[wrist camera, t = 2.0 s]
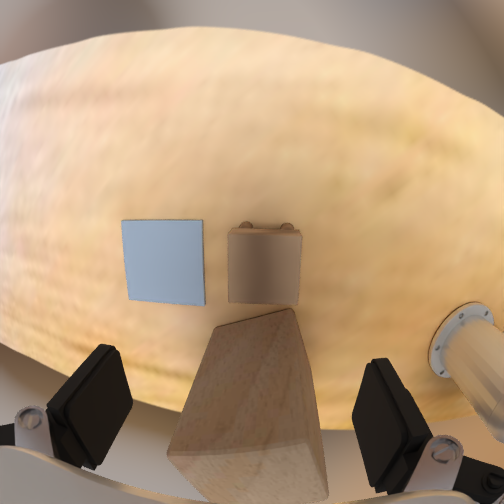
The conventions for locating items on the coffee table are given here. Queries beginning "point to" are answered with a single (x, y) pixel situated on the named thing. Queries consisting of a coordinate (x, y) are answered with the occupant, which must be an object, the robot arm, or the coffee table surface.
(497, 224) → the coffee table surface
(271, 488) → the wooden block
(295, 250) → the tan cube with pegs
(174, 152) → the coffee table surface
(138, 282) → the mat
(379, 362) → the robot arm
